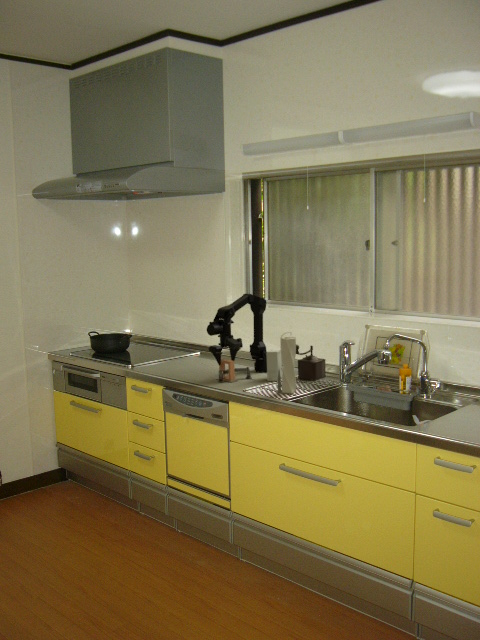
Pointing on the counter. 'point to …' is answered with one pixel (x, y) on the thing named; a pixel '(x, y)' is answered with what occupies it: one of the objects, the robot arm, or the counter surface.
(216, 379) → the pad
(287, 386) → the skyscraper
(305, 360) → the brown coffee grinder
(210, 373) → the counter surface
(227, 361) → the orange rectangular frame
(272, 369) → the skincare box
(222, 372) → the gray arch
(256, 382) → the counter surface
